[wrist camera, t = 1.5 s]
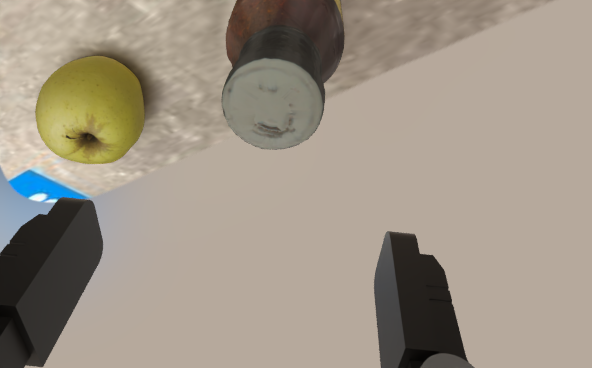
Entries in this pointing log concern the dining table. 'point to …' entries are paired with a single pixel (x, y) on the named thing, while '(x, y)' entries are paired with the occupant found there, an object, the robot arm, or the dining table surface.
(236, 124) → the sauce bottle
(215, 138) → the dining table surface
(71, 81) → the apple
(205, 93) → the dining table surface
